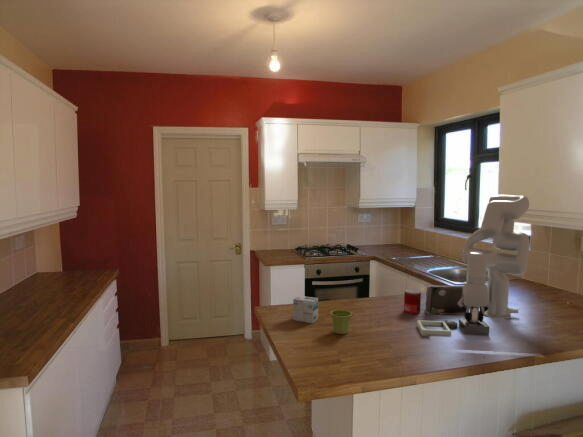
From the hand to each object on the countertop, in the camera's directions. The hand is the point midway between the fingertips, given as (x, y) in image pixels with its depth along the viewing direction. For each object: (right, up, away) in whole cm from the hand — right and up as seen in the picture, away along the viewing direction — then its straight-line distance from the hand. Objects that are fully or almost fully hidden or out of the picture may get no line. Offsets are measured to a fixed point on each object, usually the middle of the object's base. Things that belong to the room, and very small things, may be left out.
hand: (473, 320), depth 176 cm
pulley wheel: (-8, -5, +7) cm, 12 cm away
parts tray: (-17, -6, +3) cm, 18 cm away
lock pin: (0, -5, +1) cm, 5 cm away
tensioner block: (0, -6, +1) cm, 6 cm away
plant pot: (-58, -6, +2) cm, 59 cm away
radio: (-1, -3, +28) cm, 28 cm away
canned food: (-18, -3, +29) cm, 35 cm away
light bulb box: (-73, -4, +17) cm, 76 cm away
